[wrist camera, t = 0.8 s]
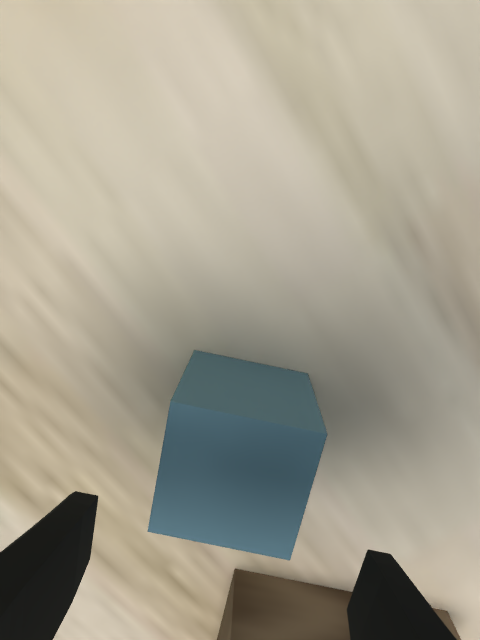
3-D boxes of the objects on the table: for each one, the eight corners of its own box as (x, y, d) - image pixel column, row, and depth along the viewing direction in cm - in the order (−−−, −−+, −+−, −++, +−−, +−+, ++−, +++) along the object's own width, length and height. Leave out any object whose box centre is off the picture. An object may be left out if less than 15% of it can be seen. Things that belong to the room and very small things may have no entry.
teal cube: (307, 372, 17) (327, 434, 12) (281, 470, 18) (289, 560, 14) (194, 349, 17) (170, 401, 12) (176, 448, 18) (147, 531, 14)
